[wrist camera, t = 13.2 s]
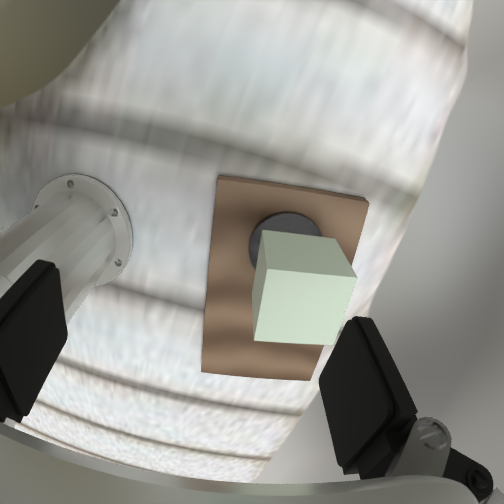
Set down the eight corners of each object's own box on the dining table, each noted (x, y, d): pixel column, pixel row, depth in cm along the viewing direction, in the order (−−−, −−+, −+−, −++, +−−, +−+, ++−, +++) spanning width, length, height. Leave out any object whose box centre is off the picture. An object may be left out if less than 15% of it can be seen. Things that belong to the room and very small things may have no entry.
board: (308, 372, 41) (320, 437, 31) (202, 363, 40) (192, 431, 30) (364, 198, 30) (411, 245, 20) (219, 175, 29) (204, 215, 19)
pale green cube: (318, 299, 28) (333, 344, 23) (251, 293, 28) (253, 340, 23) (335, 238, 26) (357, 277, 20) (262, 229, 25) (267, 268, 20)
